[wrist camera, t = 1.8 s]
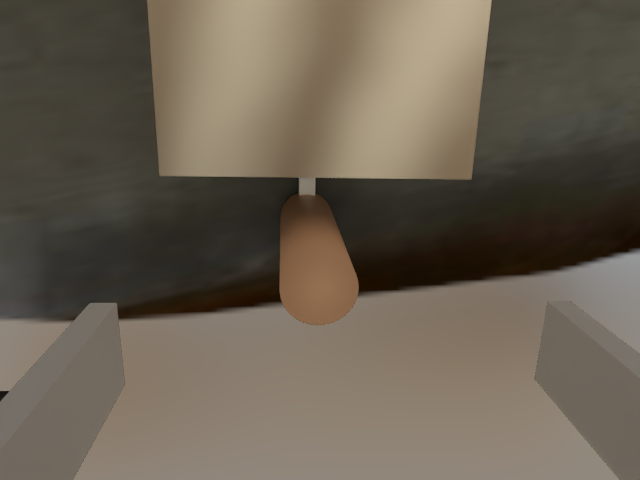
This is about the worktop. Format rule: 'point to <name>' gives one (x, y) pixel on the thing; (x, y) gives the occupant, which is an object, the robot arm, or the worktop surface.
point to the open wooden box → (317, 87)
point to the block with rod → (314, 260)
